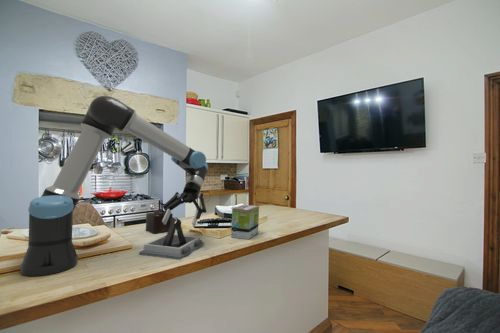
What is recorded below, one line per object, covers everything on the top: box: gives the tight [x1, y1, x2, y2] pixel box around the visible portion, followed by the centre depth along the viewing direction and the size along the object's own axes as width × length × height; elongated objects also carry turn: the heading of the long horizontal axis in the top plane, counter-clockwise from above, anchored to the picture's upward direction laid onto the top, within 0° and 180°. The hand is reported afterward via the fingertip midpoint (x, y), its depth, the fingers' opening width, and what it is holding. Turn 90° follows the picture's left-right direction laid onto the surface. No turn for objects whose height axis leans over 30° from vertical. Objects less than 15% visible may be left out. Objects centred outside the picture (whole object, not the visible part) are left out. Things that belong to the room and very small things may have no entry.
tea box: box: [230, 204, 260, 240], centre depth 133 cm, size 15×10×15 cm, turn 161°
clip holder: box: [138, 234, 204, 260], centre depth 107 cm, size 19×20×4 cm
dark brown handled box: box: [145, 199, 174, 235], centre depth 140 cm, size 16×11×18 cm
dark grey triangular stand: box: [163, 216, 187, 248], centre depth 107 cm, size 9×6×12 cm, turn 120°
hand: (178, 223), depth 110 cm, fingers open, 13 cm apart
